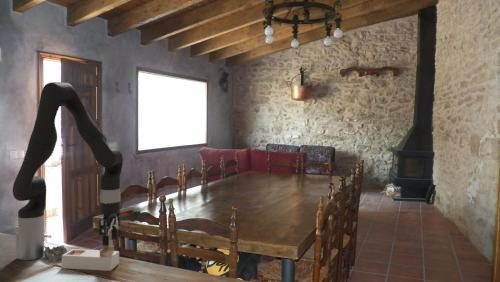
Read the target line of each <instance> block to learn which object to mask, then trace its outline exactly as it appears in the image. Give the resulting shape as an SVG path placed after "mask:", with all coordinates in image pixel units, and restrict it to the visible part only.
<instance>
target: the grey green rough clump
mask: <svg viewBox="0 0 500 282" xmlns="http://www.w3.org/2000/svg"><path fill="white" fill-rule="evenodd" d="M67 252H68V249H67V248H66V247H65V245H57V246H53V247H52V248H50V246H45V245H44V256H43V257H45V258H46V259H47V260H48V261H49V262H57V261H58V260H62V255H63V254H65V253H67Z"/></svg>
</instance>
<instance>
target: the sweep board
mask: <svg viewBox="0 0 500 282" xmlns="http://www.w3.org/2000/svg"><path fill="white" fill-rule="evenodd" d="M100 250H101V249H100ZM100 250H98V249H79V248H71V249H70V250H69V251H67V253H65V254H63V255H62V259H61V269H71V270H72V269H73V270H91V271H107V272H110V271H113V270H114V268H116V267H117V266H118V265H119V264H120V251H119V250H114V252H113V253H112V254H110V255H109V256H108V257H100ZM74 253H82V254H81V255H73V254H74Z"/></svg>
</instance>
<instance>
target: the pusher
mask: <svg viewBox="0 0 500 282" xmlns="http://www.w3.org/2000/svg"><path fill="white" fill-rule="evenodd" d="M112 240H113V239H112V231H110V232H109V245H108V246H104V245H103V244H102V248H101V249H100V257H108V256H109V255H110V254H112V253H113V252H114V251H115V245H114V244H113V242H112Z"/></svg>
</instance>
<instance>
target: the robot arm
mask: <svg viewBox="0 0 500 282" xmlns="http://www.w3.org/2000/svg"><path fill="white" fill-rule="evenodd" d="M39 98H40V99H39V103H38V109H37V114H36V118H35V121H34V124H33V129H32V131H31V134H30V137H29V140H28V144H27V149H26V151H25V155H24V157H23V161H22V163H21V166H20V168H19V170H18V173H17V175H16V177H15V179H14V182H13V186H12V196H13V198H14V199H15V200H16V201H18V202H23V201H24V202H26V201H28V202H27V203H26V204H25V205H24V206H23V207H20V209H18V211H17V212H18V213H17V221H18V222H17V225H18V226H17V229H18V230H17V231H18V233H17V234H16V236H15V258H16V259H18V260H19V261H20V260H21V261H31V260H32V261H33V260H38V259H41V258H43V257H45V256H44V251H45V247H44V246H45V214H44V213H45V209H46V203H47V201H46V200H47V184H46V183H47V182H46V181H45V179H44V178H43V177H42V176H38V175H37V176H36V173H37V171H39V169H40V168H41V167H42V166H43V165H44V164H45V163H46V162H47V161H48V160H49V159H50V157H52V155H53V154H54V151H55V148H56V145H57V141H58V132H57V128H56V117H57V113H58V111H59V109H60V107H65V108H66V110H68V111H69V112H70V113H71V115H72V116H73V119H74V121H75V125H76V128H77V131H78V134H79V136H80V137H81V138H82V140H84V142H85V144H87V146H88V148H90V150H91V152H92V155H93V157H94V159H95V161H96V162H97V164H99V166H101V167H103V168H104V172H103V173H102V175H101V177H100V192H99V213H100V214H102V215H103V218H102V219H99V220H98V235H99V236H100V237H101V236H102V246H103V245H104V246H108V245H109V232H112V240H117V239H118V238H119V236H118V231H119V228H120V227H121V219H122V218H121V201H122V200H121V174H122V170H123V161H124V157H123V154H122V151H120V150H119V149H118V148H110V147H109V146H108V144H107V141H108V139H107V137H106V135H105V134H104V133H103V131H102V130H101V129H100V128H99V127H98V125H97V124H96V123H95V121H94V119H92V117H91V115H90V113H89V112H88V110H87V109H86V106H85V105H84V104H83V102H82V100H81V98H80V96H79V94H78V93H77V90H75V87H73V85H72V84H70V83H68V82H63V81H60V82H59V81H56V82H55V81H54V82H53V81H51V82H48V83H46V84H45V85H44V86H43V88H42V90H41V92H40V96H39Z"/></svg>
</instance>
